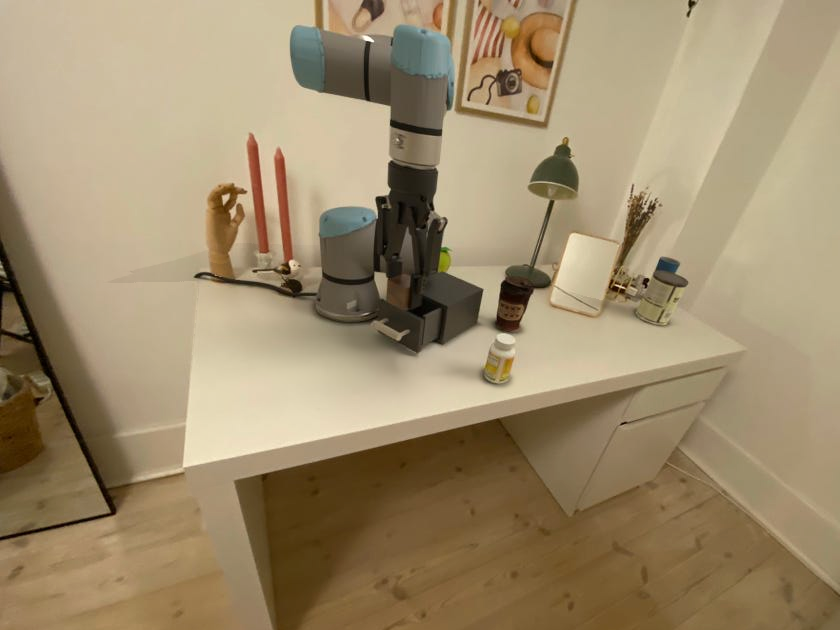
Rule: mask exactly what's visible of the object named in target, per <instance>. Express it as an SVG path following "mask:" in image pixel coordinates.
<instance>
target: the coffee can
mask: <svg viewBox="0 0 840 630" xmlns="http://www.w3.org/2000/svg"><path fill="white" fill-rule="evenodd" d="M688 285H689V281H688V279H686V277H683V276H682V275H680V274H677V273H675V274H674V273H671V272H667V271H661V270H657V271H655V270H654V271H653V273H652V276H651V278H650V280H649V283H648V284H647V287H646V289H645V291H644V294H643V296H642V298H641V300H640V301H639V302H640V303H639V304H638V306H637V309H636V310H635V315H636V316H637V317H638V318H639V319H640V320H642V321H644V322H647V323H649V324H652V325H655V326H667V325H668V323H669V321H670V319H671V317H672V316H673V315H672V314H673V313H674V311H675V309H676V307H677V305H678V304H679V302H680V299H681V297H682V295H683V293H684V292H685V290H686V288H687V286H688Z"/></svg>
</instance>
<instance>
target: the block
mask: <svg viewBox="0 0 840 630" xmlns="http://www.w3.org/2000/svg"><path fill="white" fill-rule="evenodd" d="M386 279H387V280H386V299H385V300H386V302H388V303H390V304H392V305H394V306H396V307H397V308H399V309H401V310H403V311H406V310H408V309H409V308H408V307H409V295H410V279H411V276H409V275H407V274H401V275H398V276H395V277H392V278H389V279H388V278H386Z"/></svg>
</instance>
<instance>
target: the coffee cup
mask: <svg viewBox="0 0 840 630" xmlns="http://www.w3.org/2000/svg"><path fill="white" fill-rule="evenodd" d="M533 285H534V282H533V281H532V280H530V279H528V278H527V277H523V276H516V275H511V276H505V278H504V280H503V281H501V282H500V289H499V296H498V303H497V308H496V309H497V310H496V319H495V326H496V327H497V328H498V329H500V330H502V331H505V332H518V331H519V330H520V326H521V325H520V324H521V322H522V319H523V317H524V315H525V313H526V311H527V309H528V305H529V302H530V299H531V296H532V295H533V294H534V292H535V289H534V288H535V287H533Z"/></svg>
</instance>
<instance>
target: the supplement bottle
mask: <svg viewBox="0 0 840 630" xmlns="http://www.w3.org/2000/svg"><path fill="white" fill-rule="evenodd" d="M515 345H516V339H515V337H514V336H513V335H511V334H509V333H504V332H503V333H498V334H496V336H495V339H494V342H493V343H491V344H490V346H489V349H488V352H487V353H488V354H487V358H486V362H485V366H484V370H483V376H484V378H485V380H487V381H488V382H491V383H493V384H503V383H506V382H507V381H508V380H509V378H510V374H511V370H512V368H513V367H512V366H513V363H514V360H515V357H516V348H515Z"/></svg>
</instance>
